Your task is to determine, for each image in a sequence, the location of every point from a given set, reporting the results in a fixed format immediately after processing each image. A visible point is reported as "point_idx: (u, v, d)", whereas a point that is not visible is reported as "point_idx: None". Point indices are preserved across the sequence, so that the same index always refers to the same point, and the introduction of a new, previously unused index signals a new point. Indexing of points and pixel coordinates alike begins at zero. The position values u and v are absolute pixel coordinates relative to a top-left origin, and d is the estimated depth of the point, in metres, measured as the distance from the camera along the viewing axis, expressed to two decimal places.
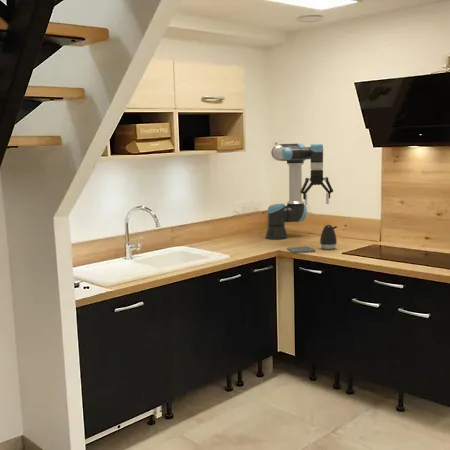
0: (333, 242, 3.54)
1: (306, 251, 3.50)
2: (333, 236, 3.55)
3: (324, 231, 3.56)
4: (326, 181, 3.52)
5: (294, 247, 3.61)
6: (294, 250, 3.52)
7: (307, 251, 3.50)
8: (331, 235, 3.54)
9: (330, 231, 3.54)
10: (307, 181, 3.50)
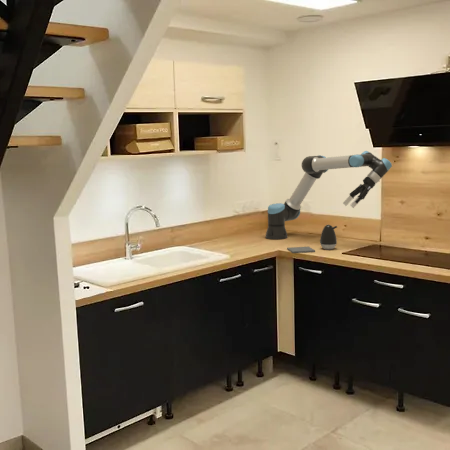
0: (333, 242, 3.54)
1: (306, 251, 3.50)
2: (333, 236, 3.55)
3: (324, 231, 3.56)
4: None
5: (294, 247, 3.61)
6: (294, 250, 3.52)
7: (307, 251, 3.50)
8: (331, 235, 3.54)
9: (330, 231, 3.54)
10: (368, 190, 3.51)
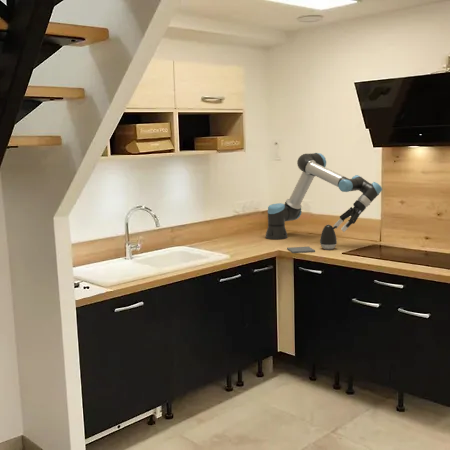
0: (333, 242, 3.54)
1: (306, 251, 3.50)
2: (333, 236, 3.55)
3: (324, 231, 3.56)
4: None
5: (294, 247, 3.61)
6: (294, 250, 3.52)
7: (307, 251, 3.50)
8: (331, 235, 3.54)
9: (330, 231, 3.54)
10: None
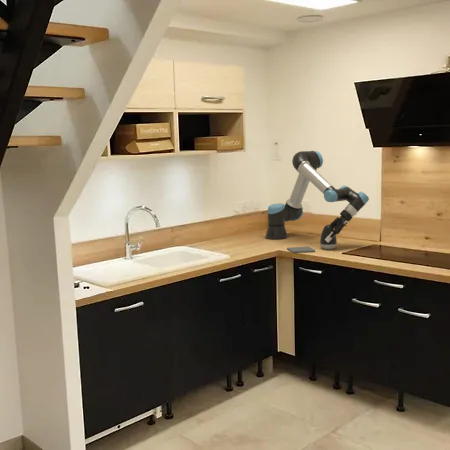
0: (333, 242, 3.54)
1: (306, 251, 3.50)
2: None
3: (324, 231, 3.56)
4: None
5: (294, 247, 3.61)
6: (294, 250, 3.52)
7: (307, 251, 3.50)
8: None
9: (330, 231, 3.54)
10: (344, 224, 3.53)
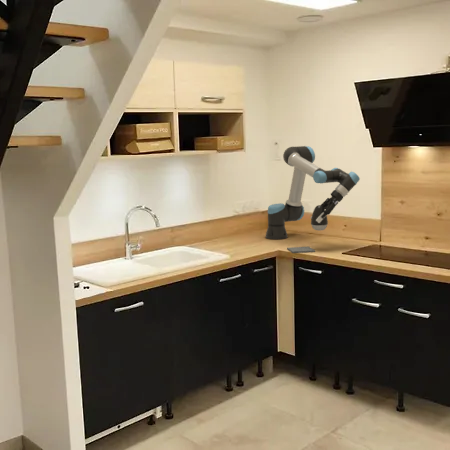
0: (324, 223, 3.50)
1: (306, 251, 3.50)
2: (324, 217, 3.50)
3: (315, 212, 3.51)
4: None
5: (294, 247, 3.61)
6: (294, 250, 3.52)
7: (307, 251, 3.50)
8: None
9: (321, 211, 3.50)
10: (335, 204, 3.49)
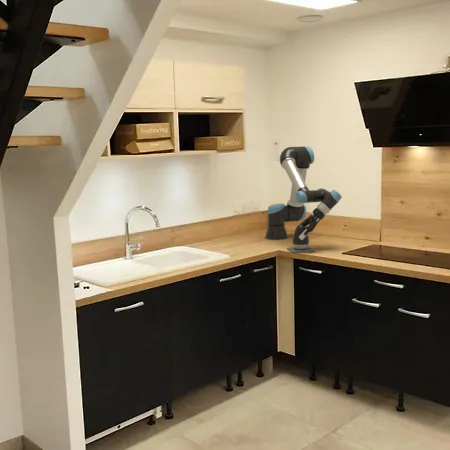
0: (305, 242, 3.51)
1: (306, 251, 3.50)
2: None
3: (296, 231, 3.52)
4: (310, 219, 3.60)
5: None
6: (294, 250, 3.52)
7: (307, 251, 3.50)
8: None
9: (302, 231, 3.51)
10: (317, 222, 3.49)
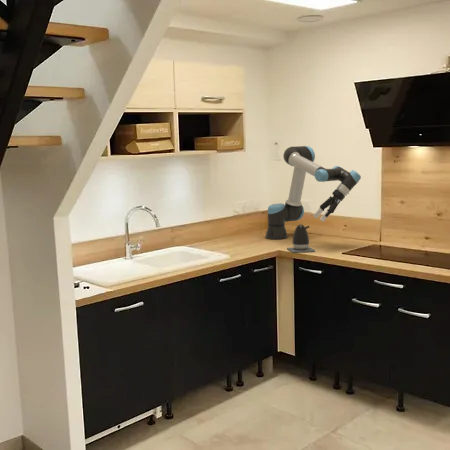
0: (305, 242, 3.51)
1: (306, 251, 3.50)
2: (305, 236, 3.51)
3: (296, 231, 3.52)
4: None
5: None
6: (294, 250, 3.52)
7: (307, 251, 3.50)
8: (303, 235, 3.50)
9: (302, 231, 3.51)
10: (338, 203, 3.50)
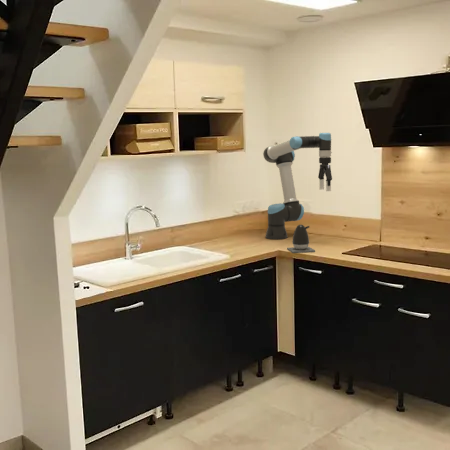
0: (305, 242, 3.51)
1: (306, 251, 3.50)
2: (305, 236, 3.51)
3: (296, 231, 3.52)
4: None
5: None
6: (294, 250, 3.52)
7: (307, 251, 3.50)
8: (303, 235, 3.50)
9: (302, 231, 3.51)
10: (330, 168, 3.66)
